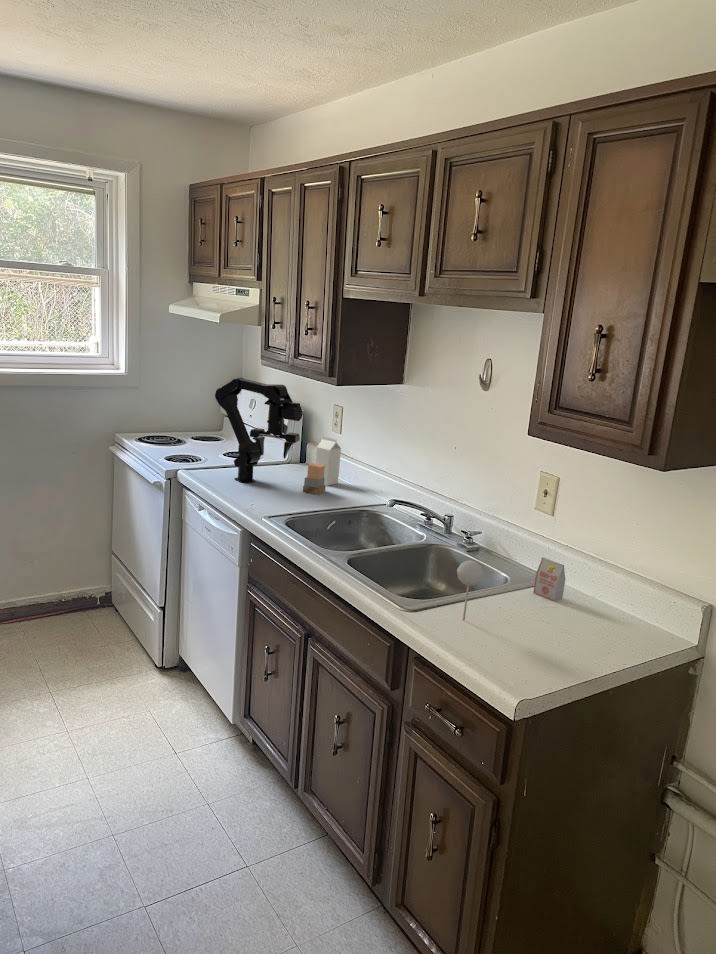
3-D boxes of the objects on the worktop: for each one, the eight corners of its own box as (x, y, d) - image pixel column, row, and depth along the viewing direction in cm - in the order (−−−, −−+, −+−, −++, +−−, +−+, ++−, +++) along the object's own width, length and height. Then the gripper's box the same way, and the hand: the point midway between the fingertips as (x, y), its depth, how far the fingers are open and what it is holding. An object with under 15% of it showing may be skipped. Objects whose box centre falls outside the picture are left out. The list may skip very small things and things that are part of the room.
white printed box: (541, 590, 197) (546, 556, 194) (562, 599, 192) (567, 564, 190) (533, 593, 194) (538, 558, 192) (554, 601, 189) (559, 566, 187)
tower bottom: (302, 493, 278) (303, 485, 277) (308, 489, 284) (308, 482, 284) (319, 496, 276) (320, 488, 276) (325, 492, 283) (325, 484, 282)
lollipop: (474, 615, 176) (481, 558, 172) (478, 626, 170) (486, 566, 166) (449, 614, 175) (456, 556, 172) (452, 624, 169) (460, 564, 166)
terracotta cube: (307, 477, 277) (308, 465, 276) (311, 475, 282) (312, 463, 281) (319, 480, 276) (320, 467, 275) (323, 477, 281) (324, 465, 280)
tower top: (304, 485, 278) (304, 478, 277) (310, 482, 283) (310, 475, 283) (318, 488, 276) (319, 480, 275) (324, 485, 282) (324, 477, 281)
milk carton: (327, 486, 291) (330, 440, 287) (313, 482, 295) (317, 437, 291) (338, 483, 296) (341, 438, 292) (324, 480, 301) (328, 435, 296)
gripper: (305, 417, 281) (302, 456, 285) (261, 412, 285) (258, 450, 289) (296, 421, 271) (293, 461, 274) (250, 415, 275) (248, 455, 278)
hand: (273, 457), depth 279 cm, fingers open, 9 cm apart
